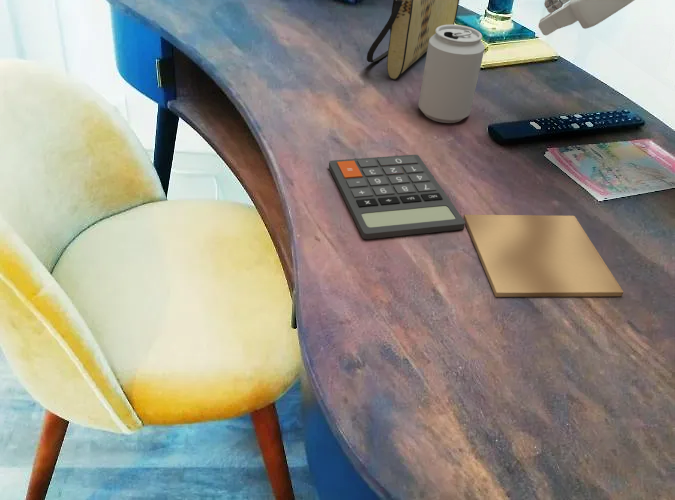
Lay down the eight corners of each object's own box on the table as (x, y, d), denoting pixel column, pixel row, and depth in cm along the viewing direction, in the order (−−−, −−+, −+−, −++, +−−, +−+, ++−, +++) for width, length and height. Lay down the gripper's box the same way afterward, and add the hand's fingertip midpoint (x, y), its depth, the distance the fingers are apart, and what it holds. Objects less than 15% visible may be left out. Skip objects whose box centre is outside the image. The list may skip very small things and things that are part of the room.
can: (412, 101, 96) (425, 20, 88) (461, 102, 97) (478, 22, 89) (423, 125, 90) (438, 40, 82) (475, 126, 91) (494, 42, 83)
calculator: (418, 152, 81) (466, 222, 70) (416, 159, 82) (465, 228, 71) (328, 159, 78) (364, 232, 67) (328, 165, 79) (363, 239, 68)
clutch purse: (421, 24, 123) (434, -61, 113) (456, 32, 121) (472, -54, 111) (354, 76, 101) (364, -24, 92) (395, 87, 99) (409, -14, 90)
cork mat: (573, 219, 74) (574, 215, 74) (621, 296, 64) (624, 292, 64) (462, 218, 73) (464, 214, 72) (495, 297, 62) (496, 292, 62)
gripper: (675, -5, 66) (551, 66, 74) (662, -47, 82) (560, 15, 90) (646, -59, 65) (522, 20, 72) (638, -92, 80) (537, -24, 88)
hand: (544, 17), depth 81 cm, fingers open, 8 cm apart
